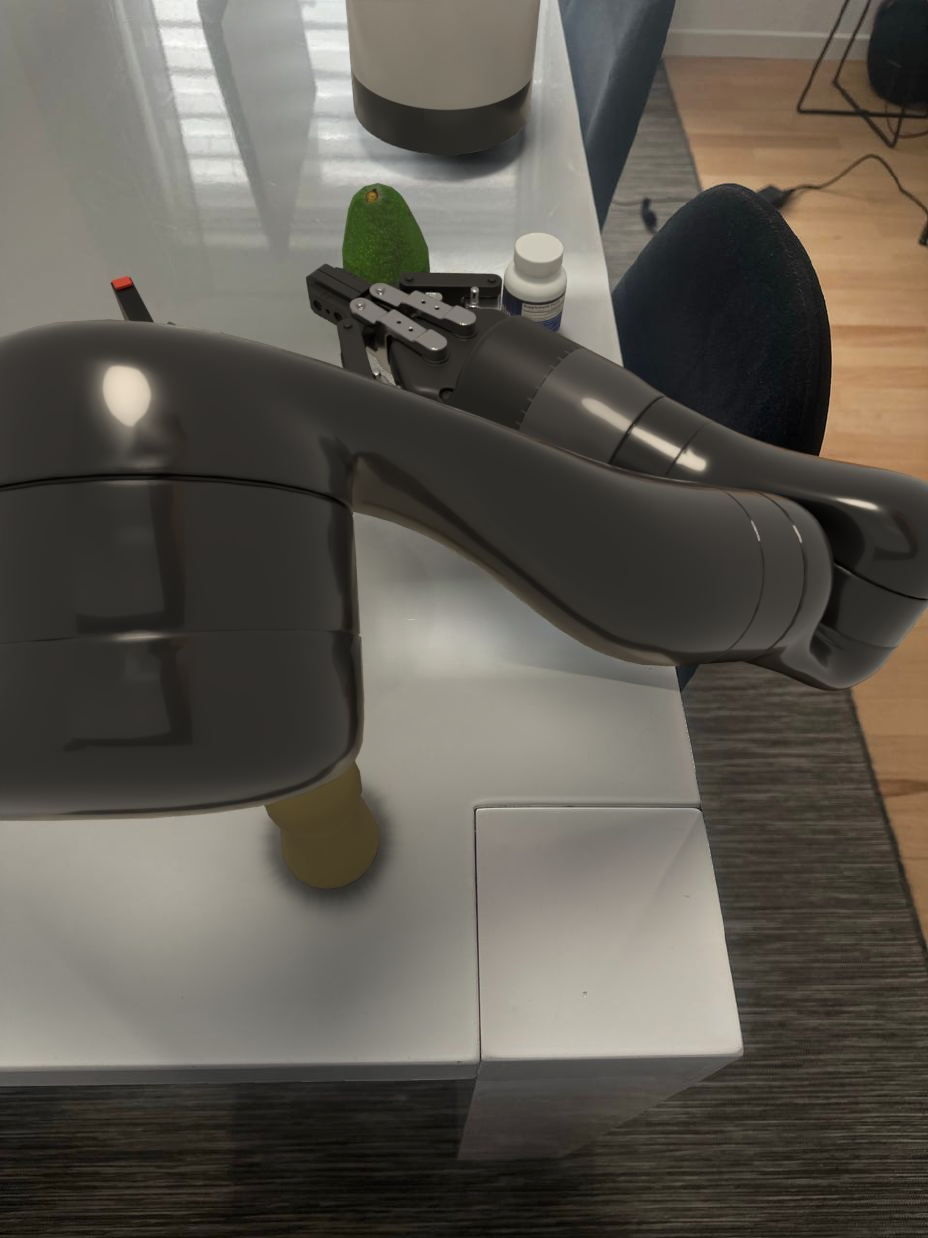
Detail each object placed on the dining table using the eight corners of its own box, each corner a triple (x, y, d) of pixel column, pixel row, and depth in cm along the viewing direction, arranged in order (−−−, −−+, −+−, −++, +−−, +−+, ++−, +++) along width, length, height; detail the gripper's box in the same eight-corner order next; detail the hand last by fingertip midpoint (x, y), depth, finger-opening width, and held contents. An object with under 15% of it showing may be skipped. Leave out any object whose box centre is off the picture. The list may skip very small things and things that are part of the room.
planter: (537, 100, 98) (556, -87, 83) (514, 193, 88) (530, 0, 73) (377, 80, 99) (367, -107, 84) (336, 170, 89) (317, -25, 74)
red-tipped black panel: (197, 427, 66) (174, 360, 60) (177, 433, 65) (153, 367, 60) (153, 342, 71) (129, 273, 65) (135, 348, 70) (108, 279, 65)
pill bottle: (494, 324, 77) (502, 227, 69) (551, 322, 78) (565, 225, 69) (502, 364, 74) (511, 268, 66) (561, 361, 75) (577, 266, 67)
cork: (325, 774, 54) (302, 700, 44) (398, 828, 52) (391, 763, 43) (260, 850, 51) (222, 787, 42) (336, 909, 49) (314, 858, 40)
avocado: (340, 291, 79) (326, 166, 69) (420, 280, 80) (418, 156, 70) (355, 347, 75) (343, 224, 65) (440, 334, 76) (440, 211, 66)
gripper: (637, 294, 44) (384, 171, 49) (486, 440, 38) (218, 283, 43) (612, 401, 50) (390, 282, 55) (479, 539, 44) (247, 393, 49)
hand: (315, 283), depth 49 cm, fingers closed
